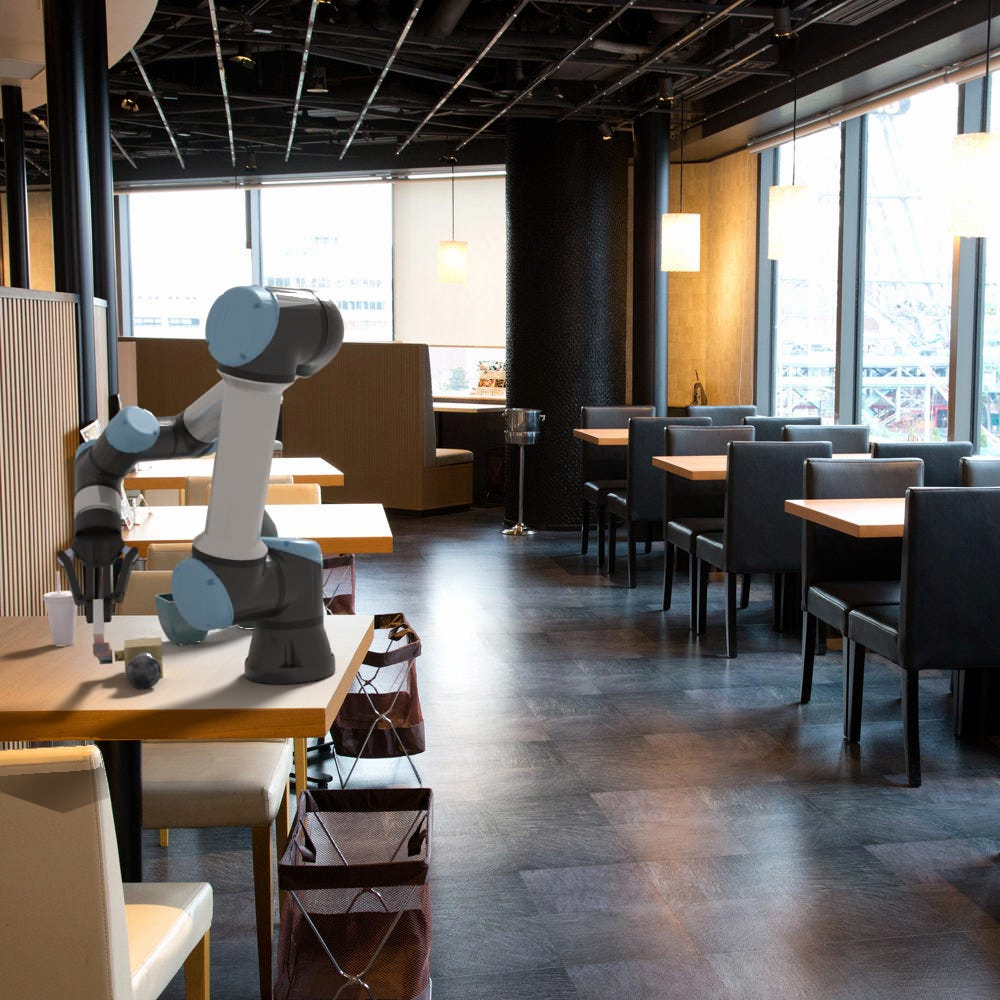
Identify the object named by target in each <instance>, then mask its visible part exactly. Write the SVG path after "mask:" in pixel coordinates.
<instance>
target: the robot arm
mask: <svg viewBox="0 0 1000 1000" xmlns="http://www.w3.org/2000/svg"><path fill="white" fill-rule="evenodd" d="M204 332H205V333H204V334H205V335H204V336H205V341H206V343H207V344H209V345H208V347H207V349H208V352H209V353H210V355H211V356H212V357H213V359H214V360H216V361H217V365H216V366H217V367H216V372H217V373H218V374H219V375H220V376H221V378H222V379H221V380H220V381H218V382H217V383H216V384H215V385H213V386H212V387H211V388H209V390H208V391H206V392H204V393H203V394H202V395H201V396H200V397H199V398H197V399H196V400H195V401H194V402H193V403H192V404H190V405H188V407H186V408H185V409H184V410H182V411H181V412H180V413H178V414H177V415H173V416H156V417H155V416H154V414H153V413H152V412H151V411H149V410H147V409H146V408H140V407H139V406H138V405H128V406H125V407H123V408H122V409H120V411H118V412H117V414H116V415H115V416H114V417H112V418H111V419H110V420H109V422H108V423H107V424H106V427H105V428H104V429H103V430H102V432H101V434H100V435H99V436H98V437H97V438H93V439H88V440H87V441H86V442H83V443H81V444H80V445H79V446H78V447H77V449H76V450H75V451H76V452H75V458H74V462H73V465H74V466H73V471H74V506H73V507H74V509H73V511H74V517H73V518H74V520H73V521H74V523H73V524H74V527H73V528H74V529H73V536H74V537H73V541H72V542H71V545H70V548H68V549H67V550H65V551H64V550H58V551H57V552H56V556H57V563H58V564H59V566H60V567H61V568H62V569H63V570H64V573H65V576H66V579H67V582H68V586H69V589H70V591H71V593H72V596H73V599H74V602H75V605H77V607H79V606H84V607H85V621H86V623H87V624H88V625H89V624H92V629H93V630H92V632H93V633H92V635H93V641H94V642H93V643H105V623H106V624H107V623H111V621H112V619H113V618H112V616H113V615H112V614H113V613H112V609H113V608H112V606H113V605H115V604H123V602H124V599H125V595H126V592H127V588H128V586H129V585H128V584H129V581H130V577H131V573H132V569H133V567H134V565H136V563H138V560H139V559H140V557H139V547H137V546H132V547H129V546H127V545H126V542H125V540H124V539H123V530H122V528H123V526H122V524H123V523H122V493H121V492H122V482H123V480H124V479H125V478H126V477H127V475H128V474H130V472H131V471H132V470H133V469H134V467H136V466H137V464H139V463H144V462H146V463H147V462H156V461H159V462H160V461H170V460H181V459H182V460H183V459H200V458H202V457H208V456H211V455H213V454H215V455H214V459H213V460H214V461H213V468H212V474H211V482H210V489H209V490H210V491H209V496H208V497H209V498H208V503H207V511H206V518H205V525H204V530H203V531H202V532H200V533H199V534H198V535H196V536H195V537H194V538H193V539H192V546H191V552H190V557H188V558H184V559H182V560H181V561H179V562H178V564H176V565H175V567H174V568H173V571H172V574H171V579H170V586H171V587H170V588H171V593H172V595H173V599H174V602H175V605H176V606H177V608H178V610H179V612H180V614H181V615H182V617H183V618H184V619H185V620H186V621H187V622H188V623H189V624H190V625H191V626H193V627H195V628H197V629H199V630H204V631H208V632H209V631H214V630H215V631H216V630H226V629H229V628H230V627H234V626H238V625H239V624H243V623H247V622H251V621H254V630H252V631H253V632H252V636H251V640H250V644H249V649H248V654H247V657H245V659H244V666H243V667H244V677H245V678H246V679H247V680H250V681H252V682H256V683H263V684H273V685H274V684H276V685H278V684H282V685H284V684H288V685H289V684H298V683H299V684H300V683H301V684H302V683H307V682H312V681H319V680H321V679H325V678H327V677H330V676H332V675H333V674H335V673H336V657H335V654H334V653H333V651H332V648H331V645H330V641H329V636H328V635H327V631H326V629H325V624H324V622H325V621H324V619H325V618H324V579H323V578H324V575H323V574H324V569H323V568H324V563H323V558H322V548H321V546H320V545H319V543H318V542H317V541H315V540H312V539H307V538H306V539H305V538H295V537H280V536H278V537H260V534H261V528H262V521H263V515H264V509H265V507H266V500H267V496H268V489H269V483H270V482H269V481H270V474H271V468H272V464H273V463H272V462H273V456H274V449H275V442H276V436H277V430H278V425H279V423H278V422H279V417H280V411H281V406H282V405H281V403H282V397H283V393H284V391H285V390H287V389H288V388H289V387H291V386H292V385H294V384H295V382H296V380H298V379H299V378H302V379H306V378H311V377H312V376H314V375H315V374H316V373H318V372H319V371H320V370H321V369H322V370H323V368H324V367H325V366H326V365H328V364H329V363H330V362H331V361H332V360H333V359H334V358H335V357H336V355H337V354H338V352H339V351H340V349H341V347H342V345H343V342H344V337H345V325H344V320H343V316H342V314H341V311H340V310H339V308H338V306H337V305H336V304H335V302H333V300H331V299H330V298H329V297H328V296H326V295H325V294H323V293H321V292H319V291H317V290H314V289H309V288H292V287H279V286H267V285H258V284H254V285H253V284H252V285H239V286H234V287H231V288H229V289H227V290H225V291H224V292H223V293H222V294H220V295H218V297H217V298H216V299H215V300H214V302H213V304H212V305H211V307H210V308H209V311H208V314H207V317H206V321H205V329H204ZM265 510H266V509H265ZM122 555H123V556H122ZM121 556H122V558H123V561H122V564H121V568H120V571H119V575H118V578H117V582H116V585H115V588H114V591H113V592H112V565H114V564H115V563H116V562H117V560H118V559H120V557H121ZM74 557H75V558H76V560H78V562H80V564H82V565H83V566H84V567H85V593H82V591H81V590H82V589H81V587H80V584H79V581H78V580H79V579H78V577H77V574H76V571H75V567H74V565H73V562H74ZM96 568H102V598H98V599H95V589H96V588H95V583H96V582H95V578H96V577H95V573H96V572H95V571H96Z"/></svg>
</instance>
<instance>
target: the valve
mask: <svg viewBox="0 0 1000 1000" xmlns="http://www.w3.org/2000/svg"><path fill="white" fill-rule="evenodd" d="M162 645H163V643H162V637H150V638H149V637H148V638H147V637H142V638H136V639H135V638H134V639H124V645H123V649H122V650H121V649H120V650H119V649H118V650H114V661H115V662H124V671H125V672H124V676H125V677H124V678H125V681H127V682H128V683H129V685H131V686H132V687H133V688H135V689H138V690H147V689H150V688H152V687H154V686H156V684H157V683H158V682H159V680H160V678H164V668H163V649H162Z"/></svg>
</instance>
